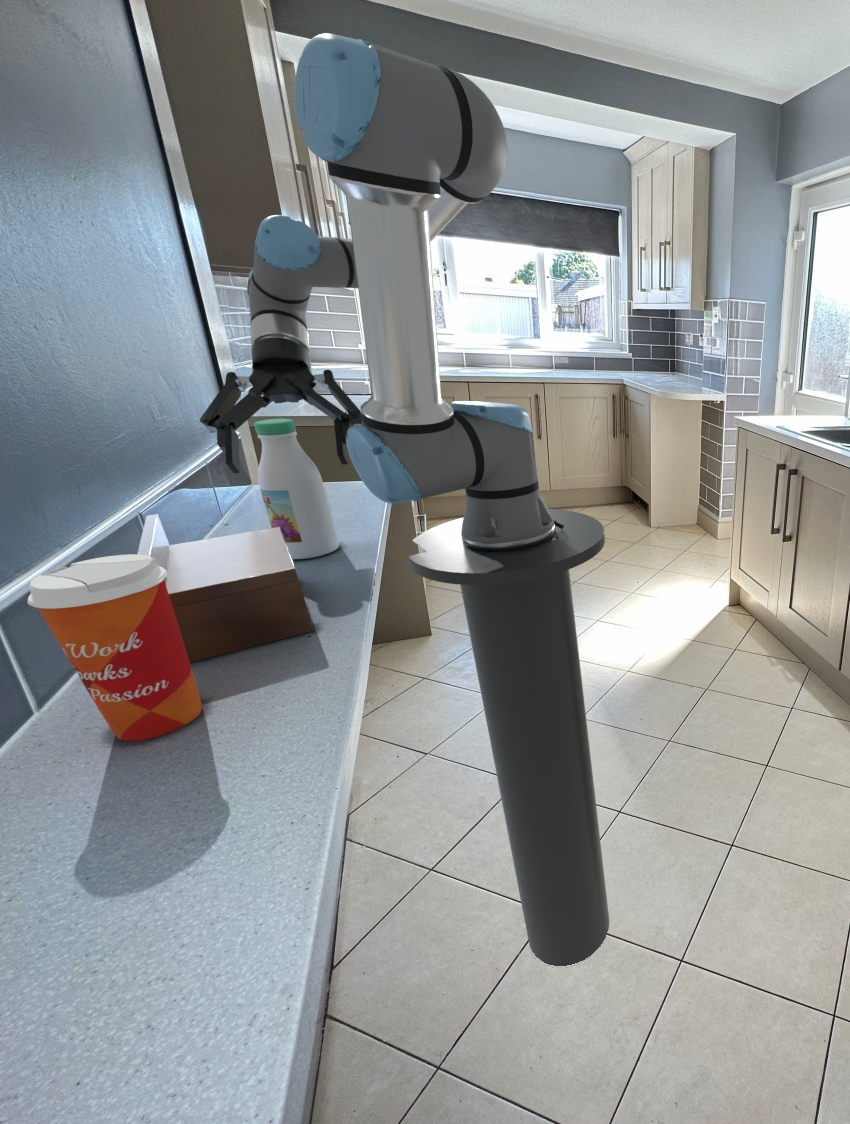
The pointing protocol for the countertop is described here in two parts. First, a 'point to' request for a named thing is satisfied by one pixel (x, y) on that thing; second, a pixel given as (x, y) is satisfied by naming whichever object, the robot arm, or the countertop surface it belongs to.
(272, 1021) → the countertop surface
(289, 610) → the brown wooden box
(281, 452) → the milk bottle
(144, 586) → the coffee cup
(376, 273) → the robot arm
